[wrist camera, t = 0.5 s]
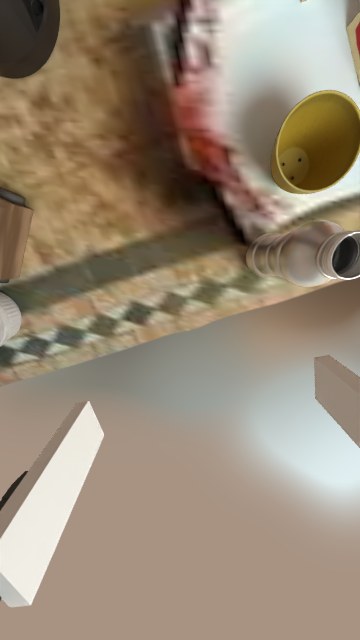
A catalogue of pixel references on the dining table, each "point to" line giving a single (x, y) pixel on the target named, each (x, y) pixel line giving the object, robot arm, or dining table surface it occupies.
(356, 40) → the milk carton
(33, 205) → the dining table surface
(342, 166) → the flower pot
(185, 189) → the dining table surface
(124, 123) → the dining table surface
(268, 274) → the plastic bottle
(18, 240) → the flatbed cart
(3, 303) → the ramekin
